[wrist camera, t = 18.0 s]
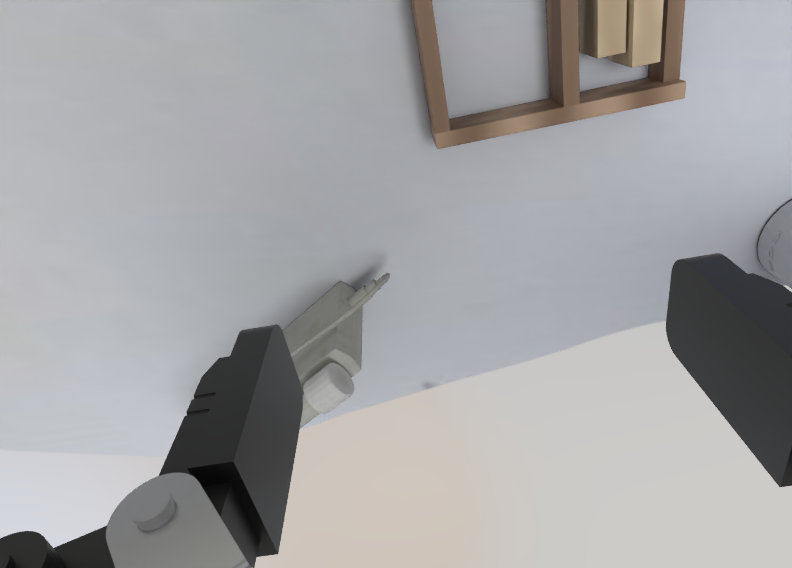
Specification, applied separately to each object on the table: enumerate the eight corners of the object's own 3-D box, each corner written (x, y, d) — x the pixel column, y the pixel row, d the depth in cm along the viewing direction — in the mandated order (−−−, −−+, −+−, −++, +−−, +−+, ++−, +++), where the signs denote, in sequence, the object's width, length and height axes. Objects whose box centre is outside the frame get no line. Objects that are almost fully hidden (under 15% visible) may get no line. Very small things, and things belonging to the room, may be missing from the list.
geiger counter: (210, 522, 46) (423, 366, 38) (148, 488, 44) (362, 314, 36) (242, 409, 58) (410, 273, 50) (195, 378, 56) (363, 229, 48)
